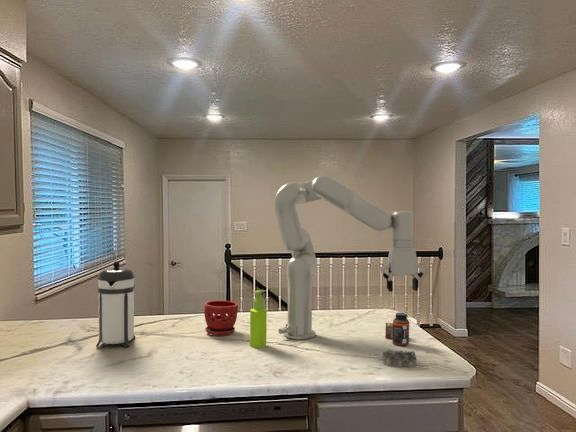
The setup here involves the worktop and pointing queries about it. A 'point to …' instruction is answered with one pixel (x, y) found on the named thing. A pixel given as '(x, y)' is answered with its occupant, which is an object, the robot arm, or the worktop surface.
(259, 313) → the soap dispenser
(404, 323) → the supplement bottle
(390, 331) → the letter t block
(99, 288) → the coffee press
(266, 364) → the worktop surface
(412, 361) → the egg carton
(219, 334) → the plant pot
